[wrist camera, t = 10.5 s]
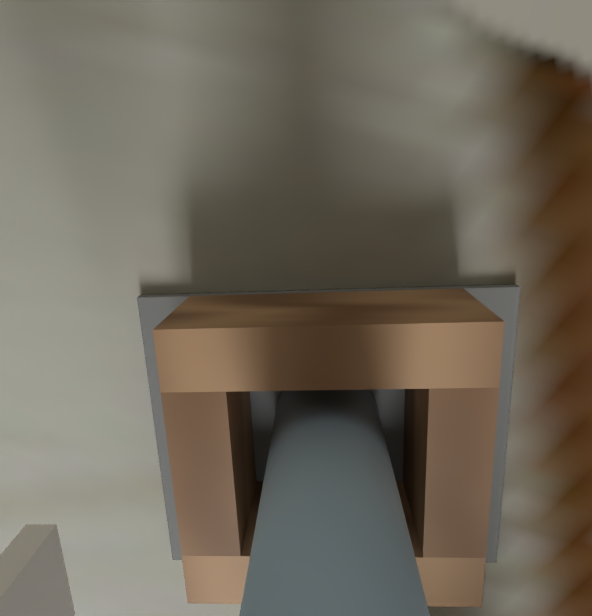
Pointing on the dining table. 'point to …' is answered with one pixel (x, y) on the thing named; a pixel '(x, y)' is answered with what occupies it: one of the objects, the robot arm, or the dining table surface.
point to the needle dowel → (331, 516)
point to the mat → (387, 400)
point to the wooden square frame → (332, 376)
